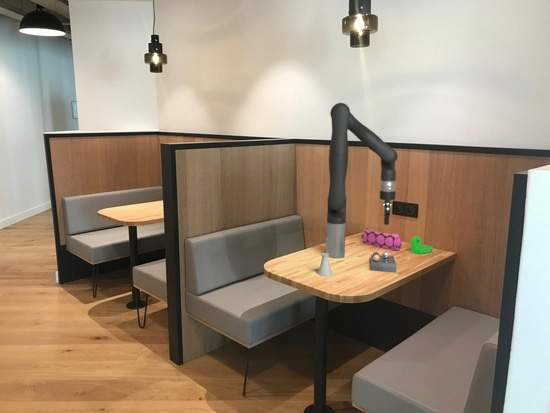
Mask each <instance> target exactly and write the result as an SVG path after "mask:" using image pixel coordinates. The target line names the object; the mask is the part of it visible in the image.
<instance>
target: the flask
mask: <svg viewBox="0 0 550 413" xmlns="http://www.w3.org/2000/svg"><path fill="white" fill-rule="evenodd" d="M328 255H329V254H328V253H326V252H323V253H321V262H320V265H319V267H318V271H317V272H316V274H317V275H318V276H321V277H330V276H333V270H332V268H331V265H330V261H329V257H328Z"/></svg>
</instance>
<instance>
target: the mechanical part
mask: <svg viewBox="0 0 550 413" xmlns="http://www.w3.org/2000/svg"><path fill="white" fill-rule="evenodd" d="M433 248H434V247H433V246H432V245H428V244H424V245H422V238H421V237H420V236H416V235H415V236H413V237H412V238H411V239H410V252H411V253H414V254H417V255H423V254H426V253H431V252H433V250H434V249H433Z"/></svg>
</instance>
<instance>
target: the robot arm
mask: <svg viewBox="0 0 550 413" xmlns="http://www.w3.org/2000/svg"><path fill="white" fill-rule="evenodd" d="M329 113H330V114H329V116H330V118H331V138H330V144H329V149H328V173H329V190H328V196H327V199H326V200H327V208H326V209H327V212H326V214H327V215H326V216H327V217H326V223H327V224H326V241H325V253H328V254H329V255H328V258H334V259H335V258H336V259H337V258H338V259H339V258H341V259H342V258H344V257H345V255H346V226H347V224H346V221H347V195H346V178H347V172H348V165H349V142H348V139H349V138H348V131H349V132H351V133H352V134H353V135H354V136H355V137H356V138H357V139H358V140H359V141H360V142H361V143H362V144H363V145H364V146H366V147H367V148H368V150H370V151H372V152H373V153H375V154H376V155H377V156H378V157H379V158H380V166H381V167H380V169H381V170H380V184H379V199H380V200H381V201H382V200H383V201H384V202H382V207H383V208H382V210H383V211H382V212H383V224H384V225H385V226H386V225H387V226H388V225H389V224H390V216H391V213H392V212H391V211H392V205H393V204H392V202H391V201H395V200H396V196H397V194H396V191H397V181H396V178H397V170H396V161H397V160H398V157H399V156H398V153H397V152H398V151H396V150H395V149H394V148H393V147H391V146H390V145H388V144H387V143H386V142H385V141H384V140H382V138H380V136H379V135H377V134H376V133H375V132H374V131H373V130H371V129H370V128H369V127H367V126H366V125H365V124H363V123H361V121H359V120H358V119H357V118H356V117H355V115H354V114H352V112H351V110H350V107H349V106H348V105H347V103H344V102H338V103H335V104H334V105H333V106H332V107H331V109H330V112H329Z"/></svg>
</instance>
